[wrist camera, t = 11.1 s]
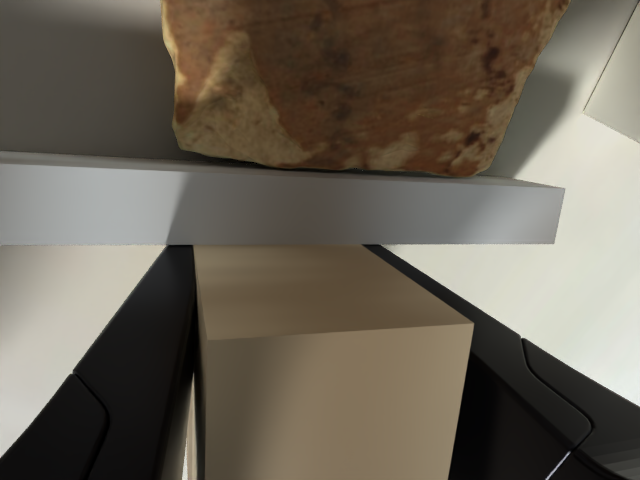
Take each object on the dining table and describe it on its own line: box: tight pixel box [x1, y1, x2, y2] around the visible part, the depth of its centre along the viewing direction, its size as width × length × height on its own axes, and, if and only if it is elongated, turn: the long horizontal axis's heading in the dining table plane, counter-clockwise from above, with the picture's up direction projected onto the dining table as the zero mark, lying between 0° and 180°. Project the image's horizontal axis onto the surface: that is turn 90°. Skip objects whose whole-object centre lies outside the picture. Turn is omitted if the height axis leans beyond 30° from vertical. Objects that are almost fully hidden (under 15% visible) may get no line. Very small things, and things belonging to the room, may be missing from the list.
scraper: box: [0, 151, 565, 480], centre depth 8 cm, size 12×7×6 cm, turn 79°
